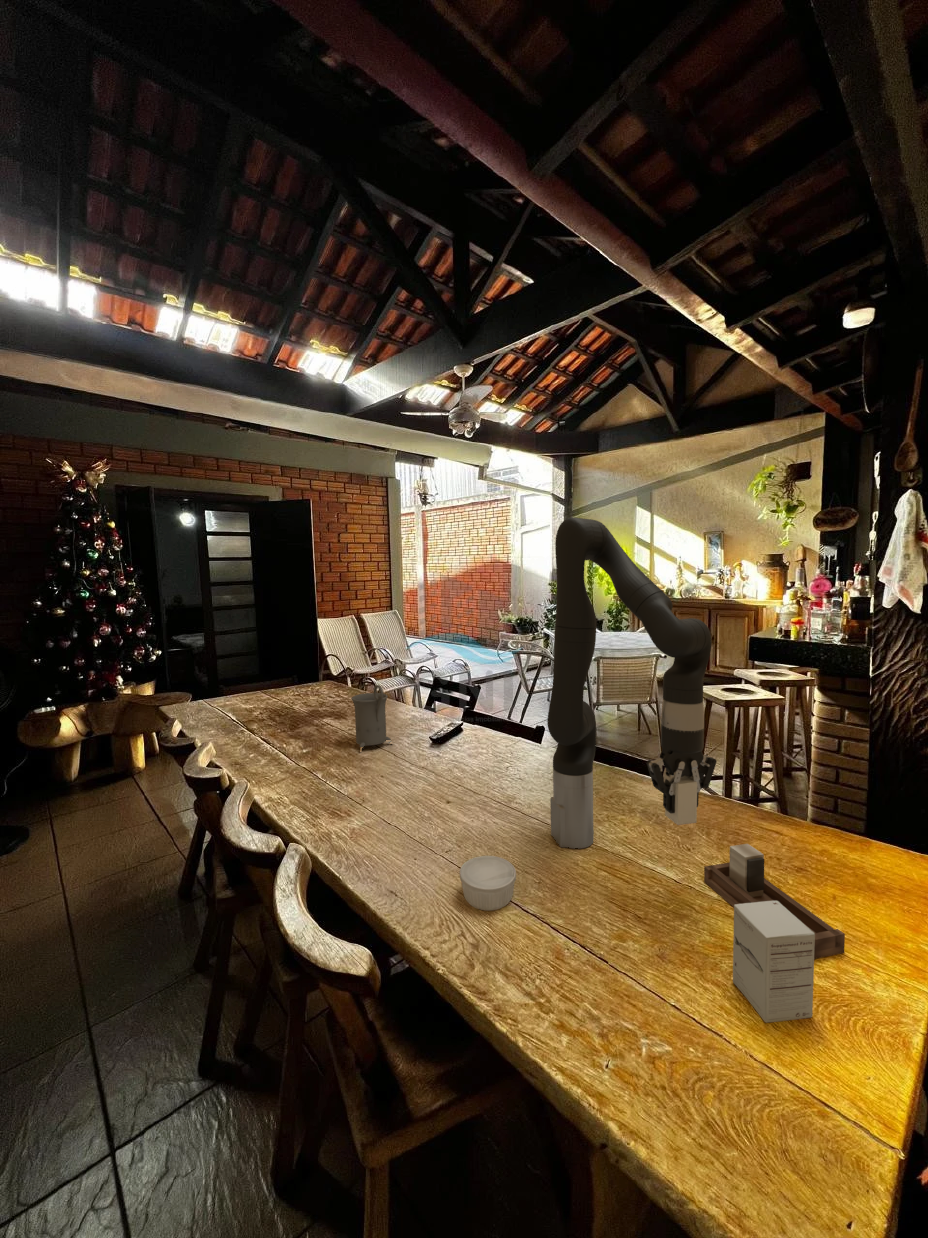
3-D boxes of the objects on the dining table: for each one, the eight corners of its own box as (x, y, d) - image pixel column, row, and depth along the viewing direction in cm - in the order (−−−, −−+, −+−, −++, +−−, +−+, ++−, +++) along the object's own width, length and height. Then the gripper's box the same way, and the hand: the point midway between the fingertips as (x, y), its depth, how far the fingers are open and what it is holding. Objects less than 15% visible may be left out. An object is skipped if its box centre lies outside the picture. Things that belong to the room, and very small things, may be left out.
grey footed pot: (344, 745, 193) (341, 682, 191) (378, 737, 202) (375, 676, 201) (366, 757, 178) (363, 689, 177) (401, 748, 188) (399, 683, 186)
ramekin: (500, 923, 90) (499, 895, 89) (449, 903, 96) (448, 877, 95) (526, 890, 99) (525, 864, 99) (478, 874, 105) (477, 850, 105)
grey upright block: (677, 825, 93) (678, 784, 93) (663, 814, 98) (663, 774, 97) (696, 822, 94) (697, 782, 94) (681, 811, 99) (682, 772, 98)
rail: (797, 962, 79) (798, 907, 78) (704, 881, 100) (704, 837, 99) (844, 952, 80) (845, 898, 80) (742, 875, 102) (743, 832, 101)
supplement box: (730, 982, 75) (731, 902, 74) (776, 977, 76) (778, 898, 75) (764, 1025, 68) (765, 937, 67) (815, 1019, 68) (817, 932, 68)
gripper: (659, 732, 89) (658, 823, 91) (729, 726, 92) (726, 815, 93) (637, 720, 97) (636, 805, 98) (702, 715, 99) (700, 798, 101)
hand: (680, 809), depth 96 cm, fingers closed on grey upright block, 4 cm apart
